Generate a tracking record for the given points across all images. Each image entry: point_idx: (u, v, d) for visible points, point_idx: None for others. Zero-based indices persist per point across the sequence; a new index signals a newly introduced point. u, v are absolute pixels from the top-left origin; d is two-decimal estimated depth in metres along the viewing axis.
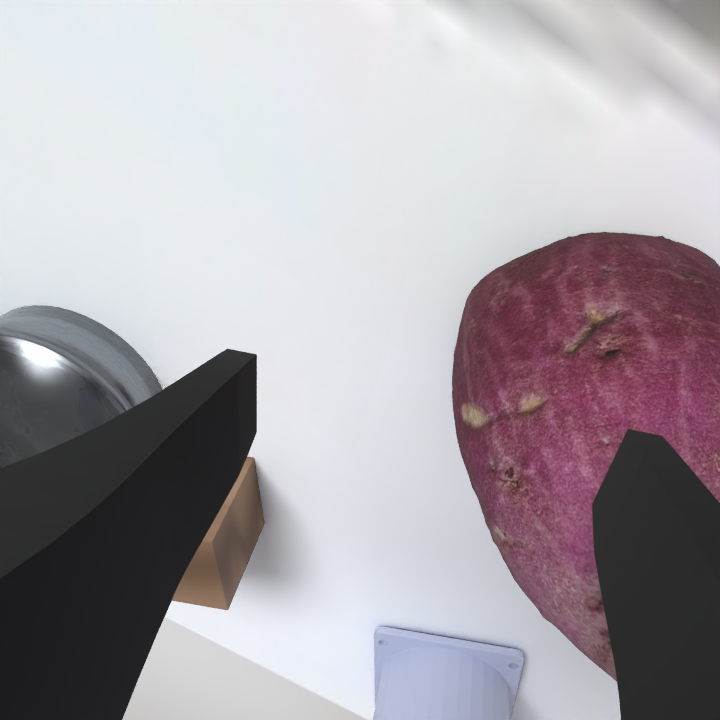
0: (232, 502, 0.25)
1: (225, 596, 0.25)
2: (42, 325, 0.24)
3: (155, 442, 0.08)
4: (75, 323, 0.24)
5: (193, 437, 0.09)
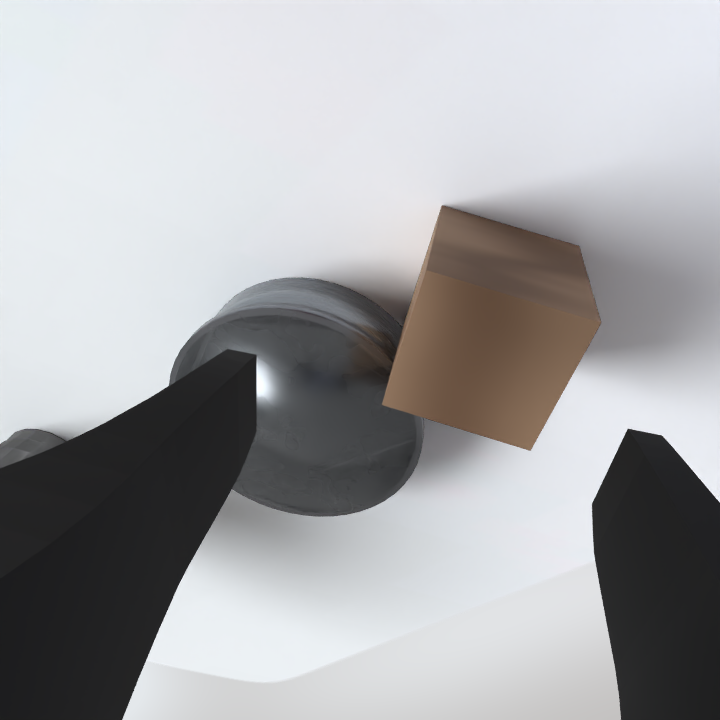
0: (435, 238, 0.16)
1: (566, 311, 0.15)
2: None
3: (155, 442, 0.08)
4: None
5: (193, 437, 0.09)
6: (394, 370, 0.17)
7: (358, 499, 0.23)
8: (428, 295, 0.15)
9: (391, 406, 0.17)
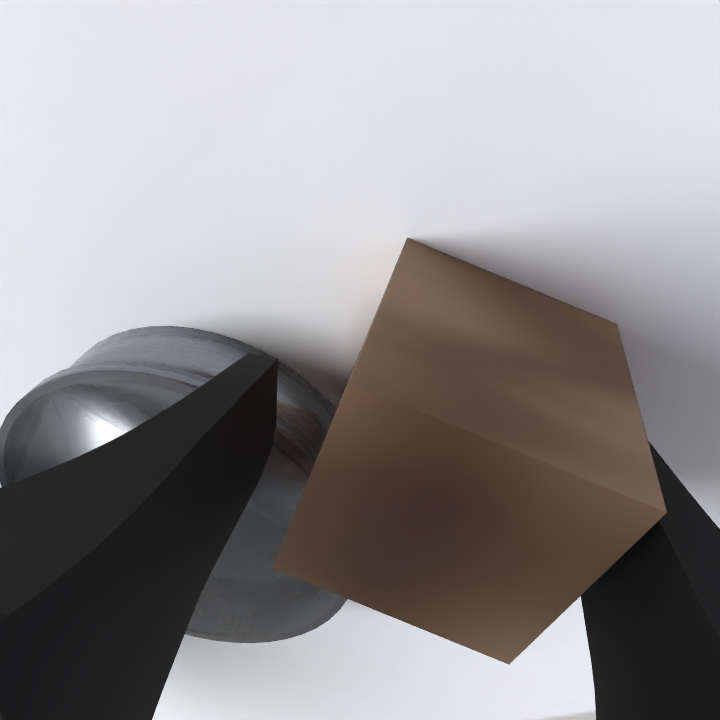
0: (381, 305, 0.09)
1: (604, 483, 0.08)
2: None
3: (184, 448, 0.08)
4: None
5: (219, 443, 0.09)
6: (291, 525, 0.10)
7: (267, 628, 0.16)
8: (353, 423, 0.08)
9: (287, 572, 0.10)
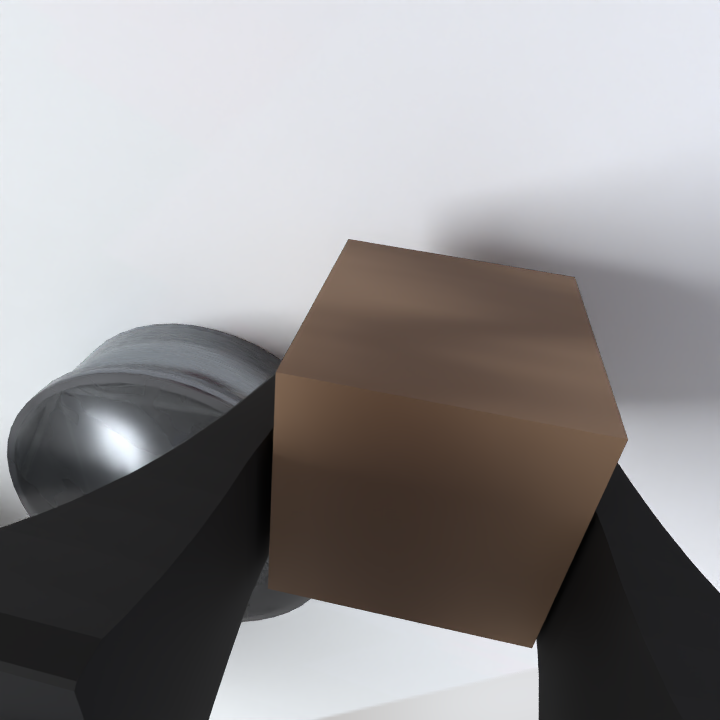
0: (316, 300, 0.09)
1: (555, 422, 0.07)
2: None
3: (240, 461, 0.08)
4: None
5: (269, 454, 0.09)
6: (271, 538, 0.09)
7: (256, 607, 0.18)
8: (293, 415, 0.08)
9: (283, 590, 0.10)
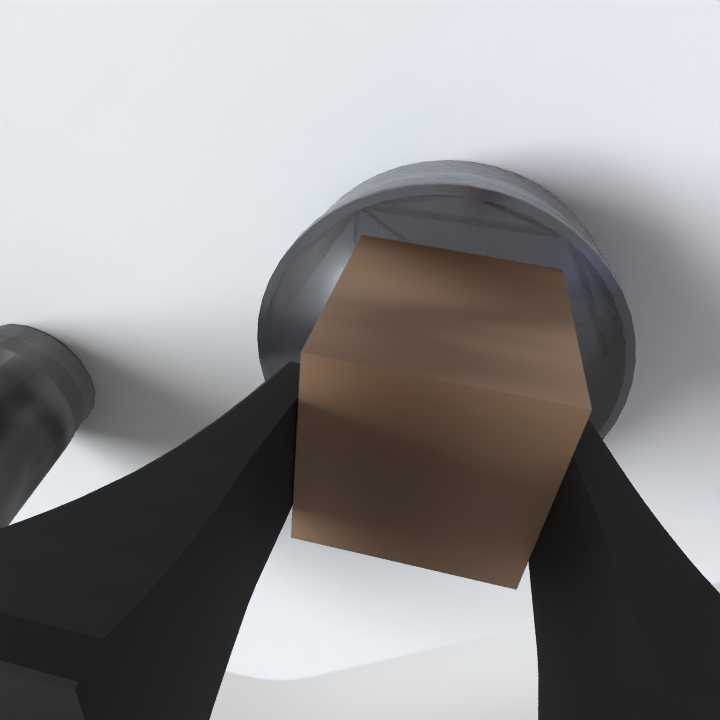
0: (334, 291, 0.11)
1: (532, 395, 0.09)
2: None
3: (241, 461, 0.08)
4: None
5: (270, 454, 0.09)
6: (294, 493, 0.11)
7: None
8: (315, 388, 0.10)
9: (304, 539, 0.12)
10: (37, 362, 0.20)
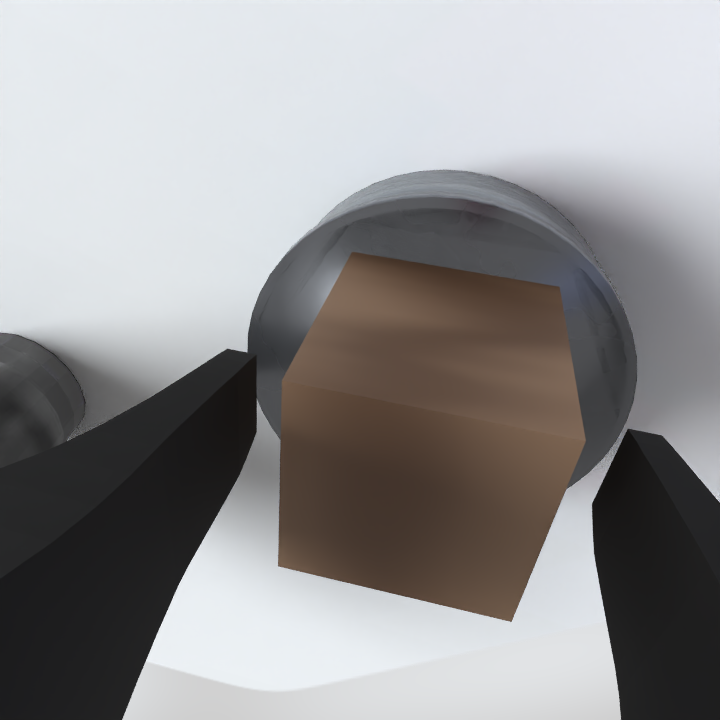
0: (320, 313, 0.11)
1: (523, 425, 0.09)
2: None
3: (155, 442, 0.08)
4: None
5: (193, 437, 0.09)
6: (280, 522, 0.11)
7: None
8: (297, 416, 0.09)
9: (292, 568, 0.11)
10: (25, 372, 0.19)
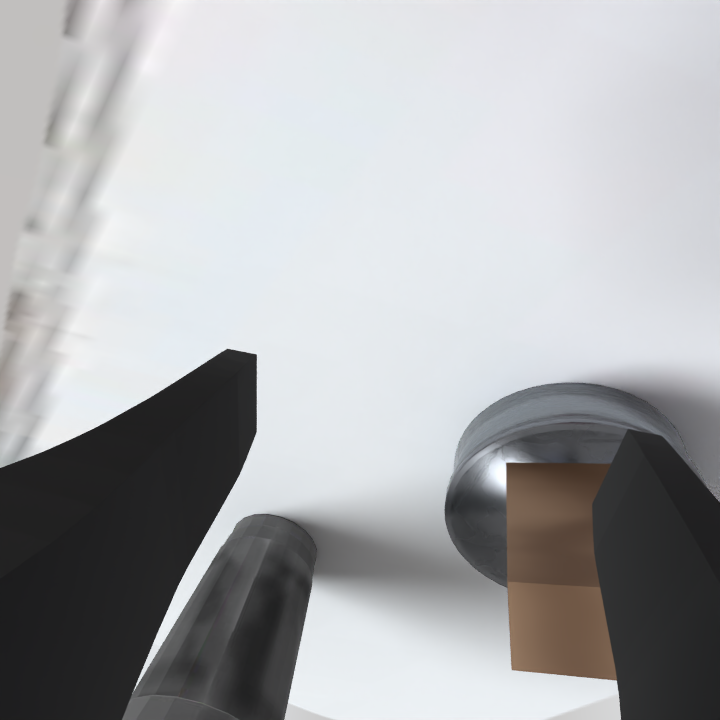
0: (507, 523, 0.19)
1: None
2: (459, 459, 0.23)
3: (155, 442, 0.08)
4: (470, 431, 0.23)
5: (193, 437, 0.09)
6: (511, 647, 0.19)
7: None
8: (517, 596, 0.17)
9: (520, 670, 0.19)
10: (283, 542, 0.28)
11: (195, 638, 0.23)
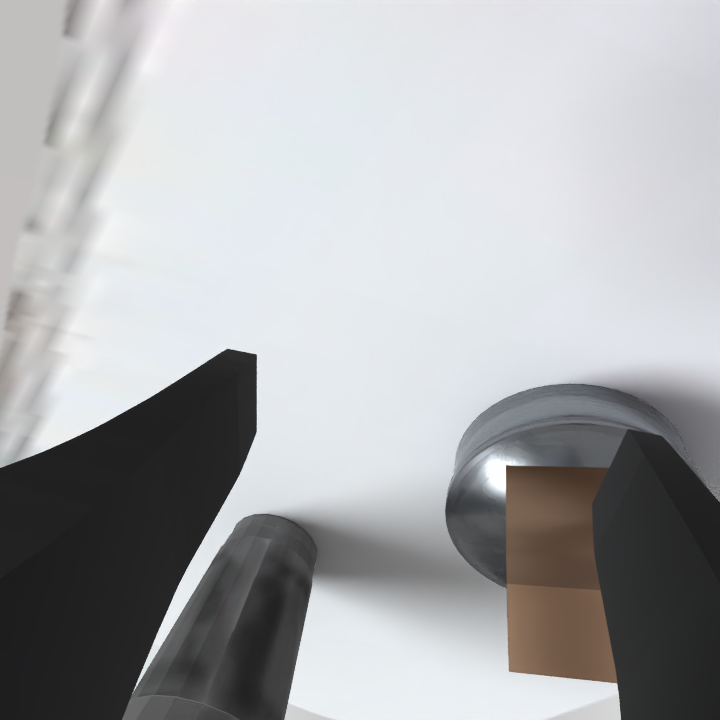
0: (506, 526, 0.19)
1: None
2: (459, 460, 0.23)
3: (155, 442, 0.08)
4: (471, 432, 0.23)
5: (193, 437, 0.09)
6: (509, 648, 0.19)
7: None
8: (516, 598, 0.17)
9: (517, 671, 0.19)
10: (283, 542, 0.28)
11: (195, 638, 0.23)
